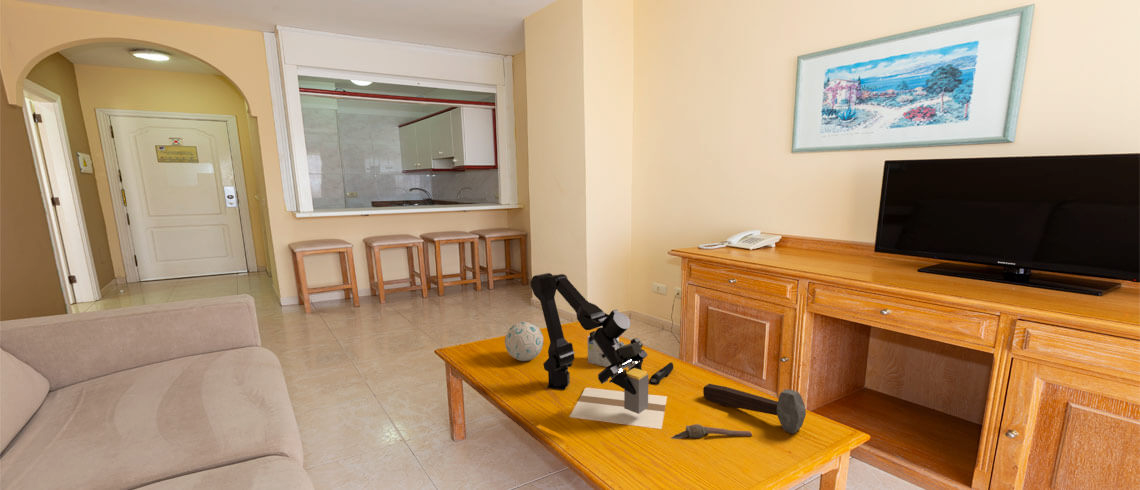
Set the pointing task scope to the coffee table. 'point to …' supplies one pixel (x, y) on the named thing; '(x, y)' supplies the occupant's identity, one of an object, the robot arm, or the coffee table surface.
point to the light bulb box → (597, 354)
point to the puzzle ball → (524, 341)
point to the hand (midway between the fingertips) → (640, 390)
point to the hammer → (762, 404)
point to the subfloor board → (618, 409)
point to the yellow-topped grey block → (637, 391)
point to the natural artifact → (707, 432)
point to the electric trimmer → (661, 374)
